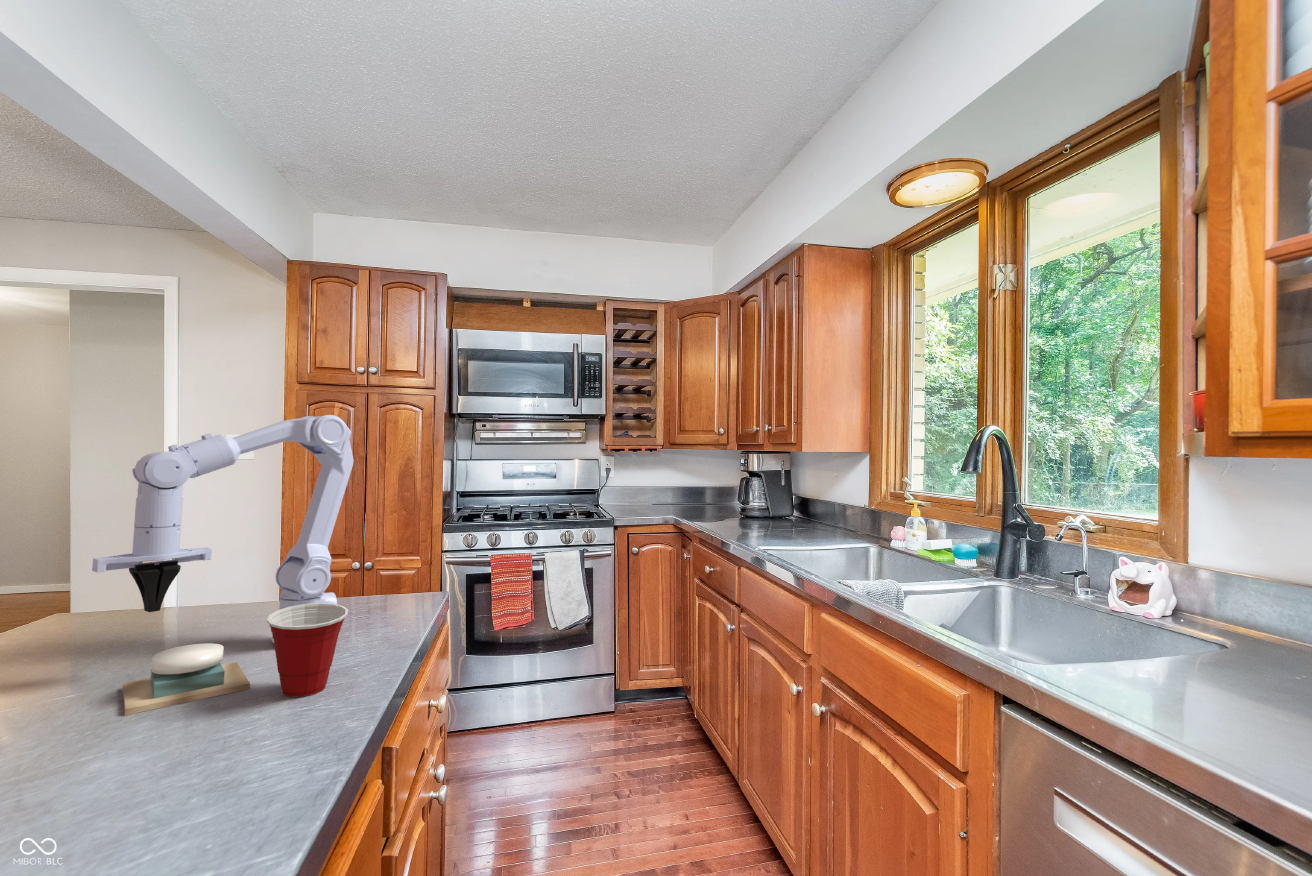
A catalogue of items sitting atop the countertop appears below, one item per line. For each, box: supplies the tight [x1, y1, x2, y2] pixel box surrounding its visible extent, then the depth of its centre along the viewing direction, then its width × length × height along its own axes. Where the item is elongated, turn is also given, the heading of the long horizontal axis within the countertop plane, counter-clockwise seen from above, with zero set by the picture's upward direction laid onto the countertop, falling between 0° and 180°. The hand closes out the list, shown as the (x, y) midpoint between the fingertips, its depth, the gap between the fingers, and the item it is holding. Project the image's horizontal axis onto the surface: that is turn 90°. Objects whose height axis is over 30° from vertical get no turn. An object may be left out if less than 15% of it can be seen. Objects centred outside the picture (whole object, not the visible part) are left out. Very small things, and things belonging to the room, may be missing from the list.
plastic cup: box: [266, 603, 349, 698], centre depth 87 cm, size 11×11×12 cm
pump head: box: [151, 642, 225, 674], centre depth 86 cm, size 8×8×4 cm
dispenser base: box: [122, 662, 251, 716], centre depth 86 cm, size 14×12×3 cm
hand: (152, 610), depth 91 cm, fingers closed
